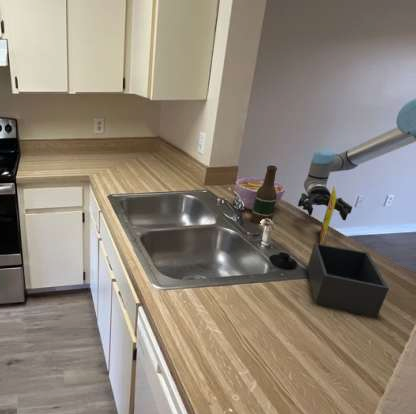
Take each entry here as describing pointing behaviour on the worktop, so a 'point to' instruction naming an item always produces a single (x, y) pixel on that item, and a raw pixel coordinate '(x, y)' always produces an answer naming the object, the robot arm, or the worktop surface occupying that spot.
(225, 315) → the worktop surface
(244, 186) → the bowl of food
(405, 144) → the robot arm
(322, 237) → the food package
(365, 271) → the storage bin
